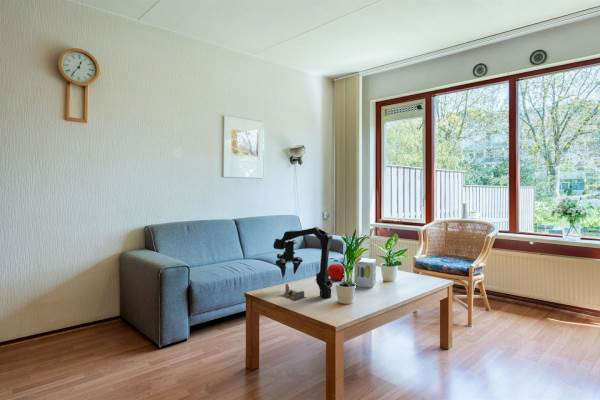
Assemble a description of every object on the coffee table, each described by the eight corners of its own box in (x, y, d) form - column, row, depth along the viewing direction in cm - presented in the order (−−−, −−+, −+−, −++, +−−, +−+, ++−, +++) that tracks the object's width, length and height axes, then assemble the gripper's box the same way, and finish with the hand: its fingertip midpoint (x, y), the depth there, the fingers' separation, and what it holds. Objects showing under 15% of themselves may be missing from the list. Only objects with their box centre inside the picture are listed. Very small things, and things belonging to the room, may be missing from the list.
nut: (298, 297, 222) (298, 291, 222) (294, 298, 219) (294, 292, 219) (294, 295, 224) (294, 290, 224) (290, 296, 222) (290, 291, 222)
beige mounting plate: (307, 298, 221) (307, 290, 221) (295, 302, 214) (295, 294, 214) (290, 293, 232) (290, 285, 231) (279, 296, 225) (279, 288, 224)
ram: (294, 294, 226) (294, 285, 225) (288, 296, 222) (288, 286, 222) (288, 292, 229) (288, 283, 229) (282, 294, 226) (282, 284, 226)
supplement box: (353, 285, 251) (354, 260, 250) (357, 281, 263) (357, 257, 263) (372, 288, 246) (373, 262, 246) (375, 283, 259) (376, 258, 258)
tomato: (342, 282, 259) (342, 266, 258) (324, 280, 264) (324, 264, 264) (347, 278, 270) (347, 263, 269) (330, 276, 275) (330, 261, 275)
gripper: (291, 247, 245) (291, 270, 245) (270, 250, 232) (269, 274, 233) (303, 249, 237) (302, 273, 237) (281, 252, 224) (281, 277, 224)
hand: (289, 274), depth 233 cm, fingers open, 9 cm apart
